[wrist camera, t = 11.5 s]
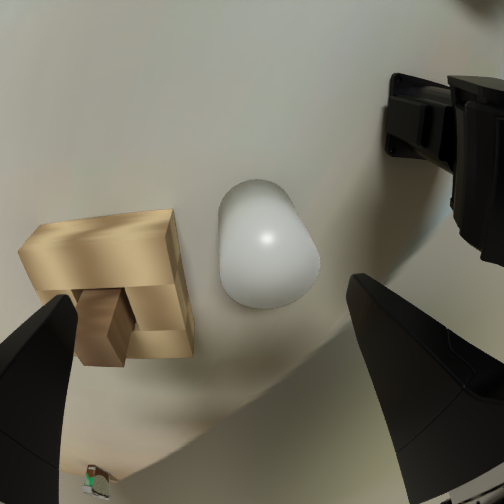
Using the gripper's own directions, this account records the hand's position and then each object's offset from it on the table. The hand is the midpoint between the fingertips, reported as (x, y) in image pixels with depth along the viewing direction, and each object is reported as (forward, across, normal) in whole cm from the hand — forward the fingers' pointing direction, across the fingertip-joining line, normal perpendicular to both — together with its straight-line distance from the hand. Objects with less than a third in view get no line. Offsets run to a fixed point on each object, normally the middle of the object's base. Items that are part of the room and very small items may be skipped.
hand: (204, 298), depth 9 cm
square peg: (+13, +9, +9) cm, 18 cm away
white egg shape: (+13, -3, +4) cm, 14 cm away
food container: (+13, +47, +83) cm, 96 cm away
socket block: (+13, +9, +9) cm, 18 cm away
